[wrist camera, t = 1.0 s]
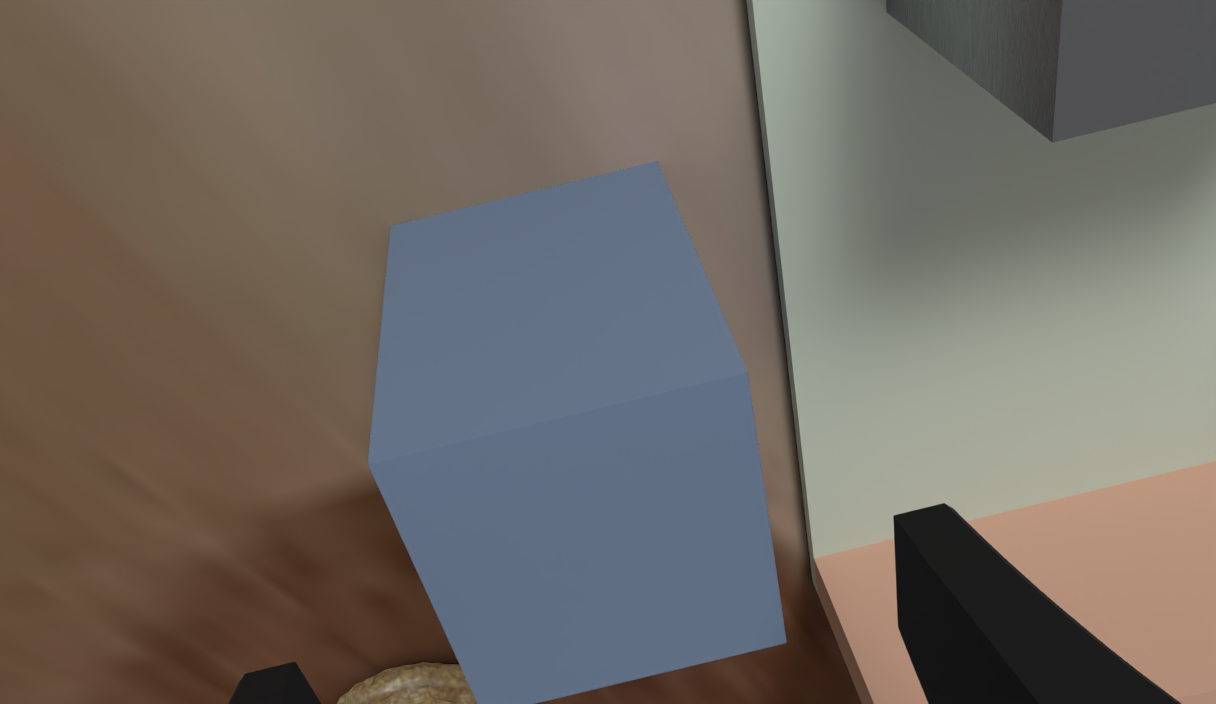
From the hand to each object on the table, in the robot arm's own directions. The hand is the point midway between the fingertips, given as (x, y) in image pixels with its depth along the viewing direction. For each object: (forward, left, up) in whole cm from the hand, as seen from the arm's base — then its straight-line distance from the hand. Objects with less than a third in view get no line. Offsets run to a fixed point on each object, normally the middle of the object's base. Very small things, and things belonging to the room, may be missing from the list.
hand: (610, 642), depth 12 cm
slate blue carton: (0, 0, -7) cm, 7 cm away
